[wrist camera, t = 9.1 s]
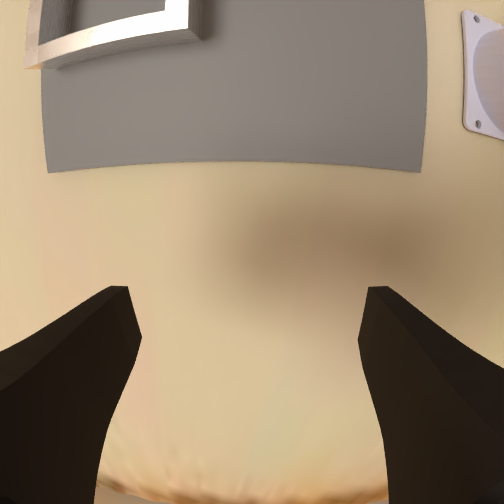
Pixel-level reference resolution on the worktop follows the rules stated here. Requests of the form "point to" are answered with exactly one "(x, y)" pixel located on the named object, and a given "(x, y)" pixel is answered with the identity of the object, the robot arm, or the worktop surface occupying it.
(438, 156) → the worktop surface
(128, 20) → the square storage bin
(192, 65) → the board
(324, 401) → the worktop surface
